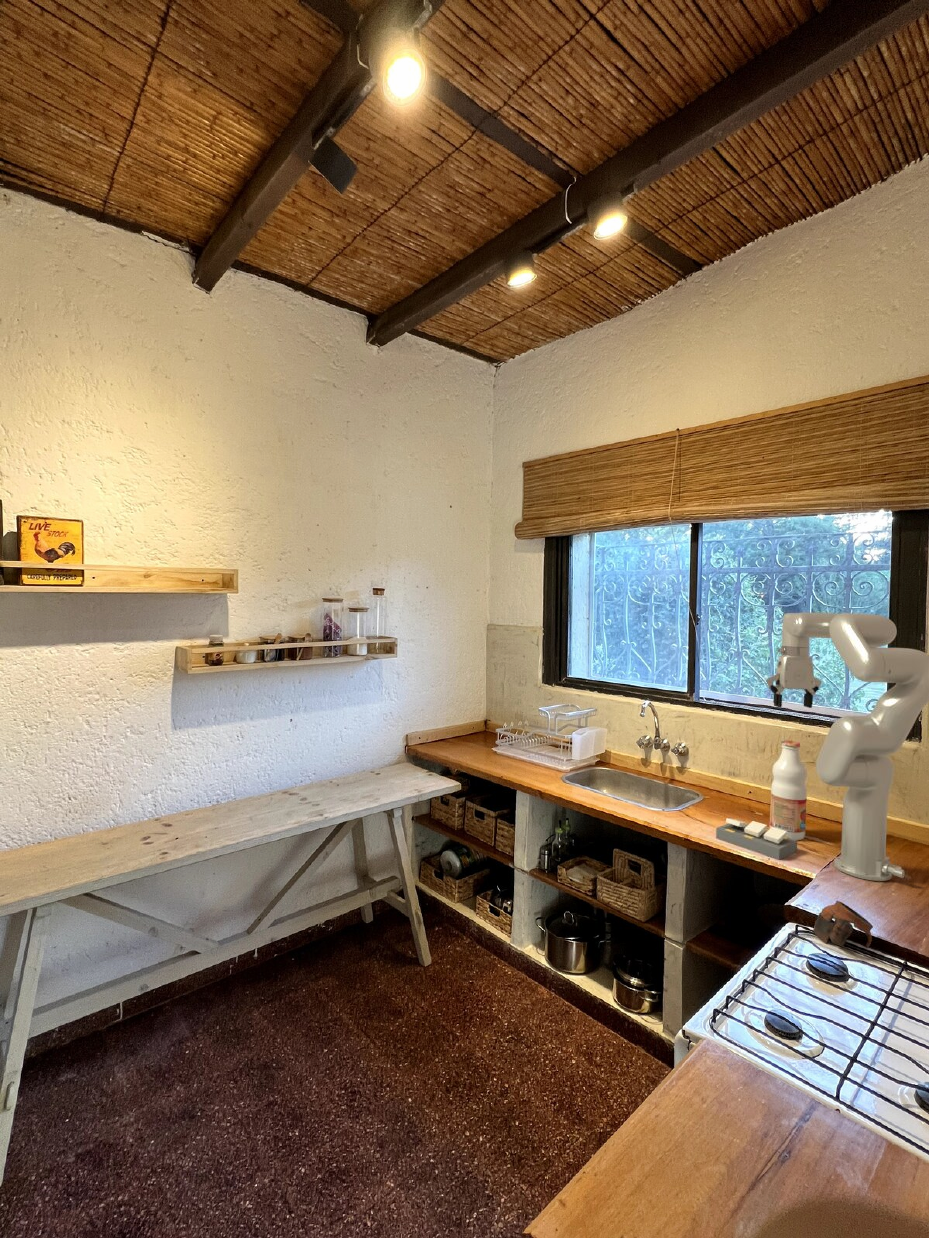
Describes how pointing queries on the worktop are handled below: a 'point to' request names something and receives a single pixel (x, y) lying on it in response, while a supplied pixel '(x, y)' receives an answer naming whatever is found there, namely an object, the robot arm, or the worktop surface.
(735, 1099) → the worktop surface
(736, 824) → the rocker
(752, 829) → the rocker
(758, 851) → the switch panel
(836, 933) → the pottery mug
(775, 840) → the block
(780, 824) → the fruit juice
